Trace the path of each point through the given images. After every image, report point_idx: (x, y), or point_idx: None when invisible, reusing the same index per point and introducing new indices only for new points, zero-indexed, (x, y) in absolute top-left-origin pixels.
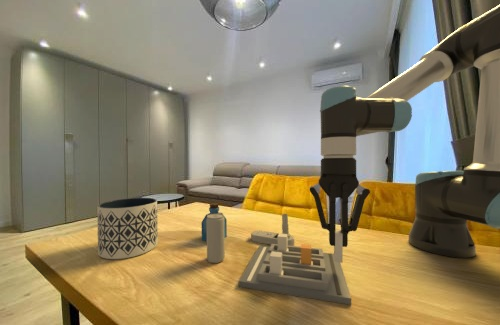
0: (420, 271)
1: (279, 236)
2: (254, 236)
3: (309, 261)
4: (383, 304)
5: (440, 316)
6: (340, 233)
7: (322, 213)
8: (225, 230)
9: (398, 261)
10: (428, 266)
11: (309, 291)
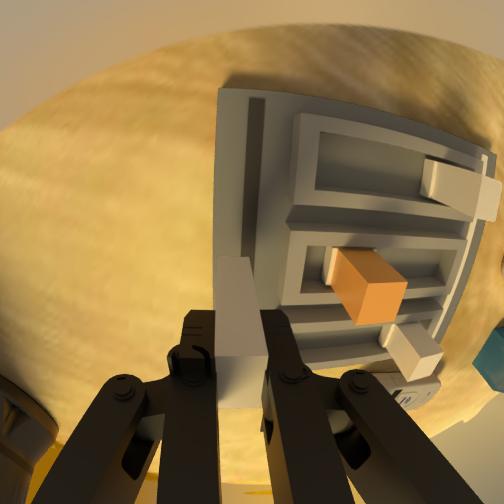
0: (24, 321)
1: (439, 353)
2: (437, 379)
3: (351, 255)
4: (119, 124)
5: (19, 130)
6: (229, 359)
7: (412, 467)
8: (483, 369)
9: (61, 360)
10: (15, 342)
11: (354, 106)
